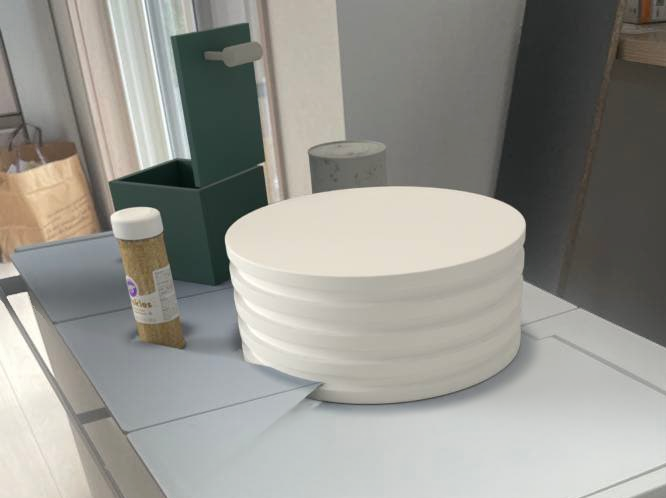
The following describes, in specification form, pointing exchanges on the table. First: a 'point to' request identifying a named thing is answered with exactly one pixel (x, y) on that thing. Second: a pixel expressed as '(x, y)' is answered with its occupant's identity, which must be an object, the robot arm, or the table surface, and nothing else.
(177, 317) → the sprinkles bottle
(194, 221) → the chest
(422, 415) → the table surface
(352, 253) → the plate stack
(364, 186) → the speckled concrete cylinder
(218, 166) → the lid
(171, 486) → the table surface
